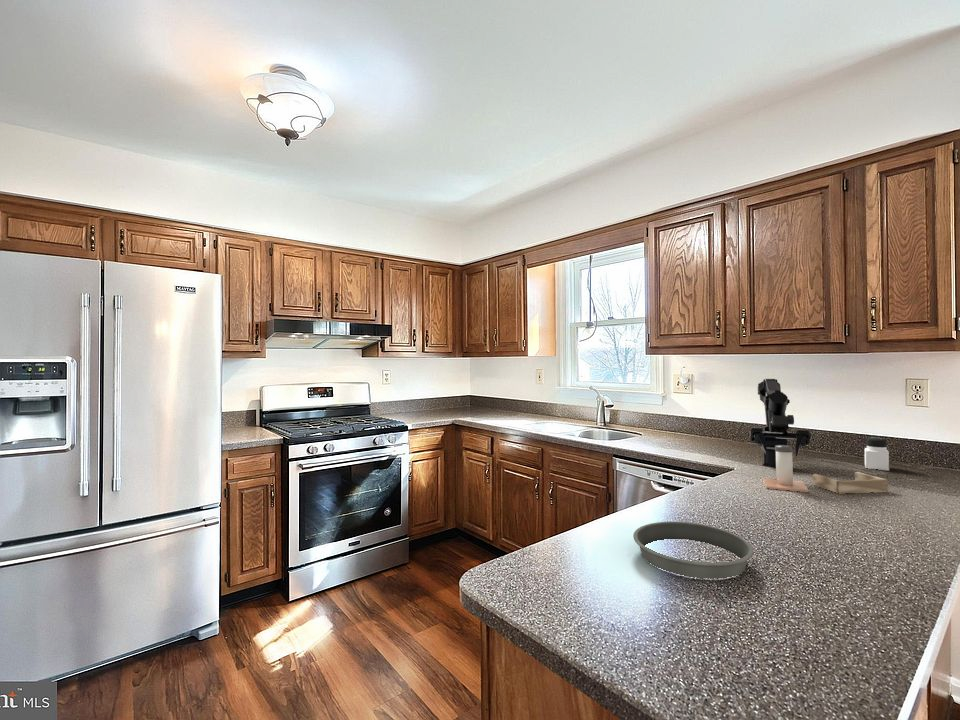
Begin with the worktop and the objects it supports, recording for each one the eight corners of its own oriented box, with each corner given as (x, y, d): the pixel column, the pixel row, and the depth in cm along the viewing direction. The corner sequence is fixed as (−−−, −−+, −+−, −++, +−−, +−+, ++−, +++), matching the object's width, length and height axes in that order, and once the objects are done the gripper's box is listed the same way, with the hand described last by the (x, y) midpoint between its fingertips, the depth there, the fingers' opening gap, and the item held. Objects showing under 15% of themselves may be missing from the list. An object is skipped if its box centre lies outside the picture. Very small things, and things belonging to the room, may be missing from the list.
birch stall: (813, 485, 162) (813, 474, 162) (858, 483, 164) (857, 471, 164) (839, 494, 151) (839, 482, 151) (887, 491, 153) (887, 479, 153)
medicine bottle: (889, 471, 180) (889, 440, 180) (865, 468, 184) (865, 438, 184) (887, 467, 186) (887, 437, 186) (864, 465, 190) (864, 435, 190)
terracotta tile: (763, 480, 170) (763, 478, 170) (802, 483, 164) (802, 481, 164) (766, 488, 159) (766, 486, 159) (808, 492, 154) (808, 490, 154)
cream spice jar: (772, 482, 164) (771, 445, 164) (785, 481, 165) (784, 444, 165) (784, 486, 159) (783, 447, 159) (797, 485, 160) (795, 447, 160)
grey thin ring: (654, 531, 123) (654, 514, 123) (762, 555, 107) (762, 535, 107) (616, 564, 104) (616, 543, 104) (741, 598, 88) (740, 575, 88)
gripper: (749, 406, 177) (752, 440, 167) (809, 407, 169) (815, 443, 159) (748, 424, 184) (751, 457, 175) (805, 426, 176) (811, 461, 166)
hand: (781, 454), depth 168 cm, fingers open, 9 cm apart
